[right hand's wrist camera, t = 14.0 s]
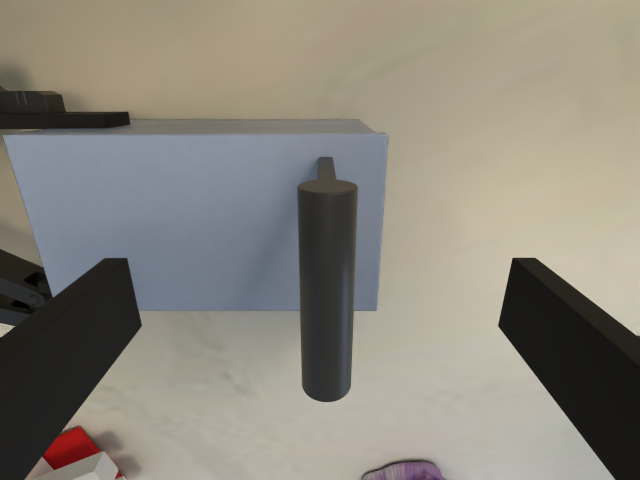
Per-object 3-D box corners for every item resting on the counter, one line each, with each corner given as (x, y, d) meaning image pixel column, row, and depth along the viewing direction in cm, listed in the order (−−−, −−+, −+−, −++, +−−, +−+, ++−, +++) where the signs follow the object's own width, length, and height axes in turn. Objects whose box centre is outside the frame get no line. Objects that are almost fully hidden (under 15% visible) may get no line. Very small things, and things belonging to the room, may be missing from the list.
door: (385, 132, 18) (433, 162, 10) (375, 303, 21) (404, 420, 14) (14, 132, 18) (-214, 162, 10) (65, 303, 21) (-76, 419, 14)
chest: (358, 119, 27) (377, 132, 18) (354, 241, 30) (367, 303, 21) (118, 119, 27) (16, 132, 18) (141, 240, 30) (66, 302, 21)
